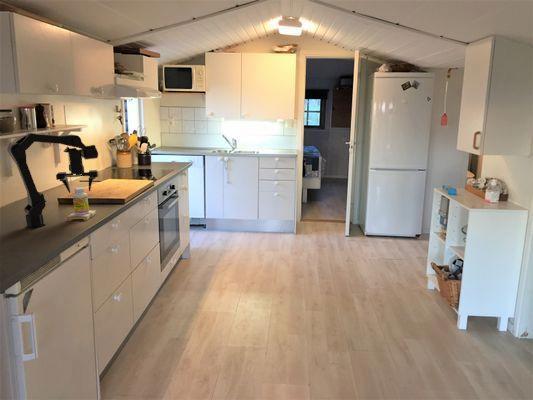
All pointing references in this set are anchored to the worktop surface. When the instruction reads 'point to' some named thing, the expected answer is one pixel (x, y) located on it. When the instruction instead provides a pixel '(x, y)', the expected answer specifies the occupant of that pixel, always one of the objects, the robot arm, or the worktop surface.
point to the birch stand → (84, 217)
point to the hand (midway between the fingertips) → (79, 191)
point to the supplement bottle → (80, 201)
